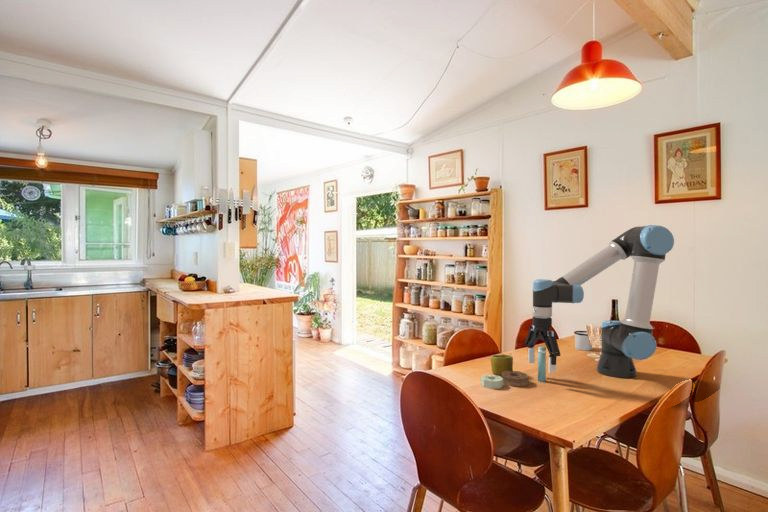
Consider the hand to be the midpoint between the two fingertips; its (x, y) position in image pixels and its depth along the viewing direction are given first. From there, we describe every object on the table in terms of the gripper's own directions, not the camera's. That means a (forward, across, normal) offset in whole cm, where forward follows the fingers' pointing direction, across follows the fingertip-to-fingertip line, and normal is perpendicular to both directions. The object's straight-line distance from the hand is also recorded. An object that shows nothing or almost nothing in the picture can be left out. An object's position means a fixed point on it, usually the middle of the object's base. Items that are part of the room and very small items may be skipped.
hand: (541, 367), depth 168 cm
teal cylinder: (+6, 0, 0) cm, 6 cm away
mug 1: (+6, -14, -10) cm, 18 cm away
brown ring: (+6, -1, -12) cm, 13 cm away
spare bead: (+6, 0, -23) cm, 23 cm away
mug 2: (+5, -40, +56) cm, 69 cm away
